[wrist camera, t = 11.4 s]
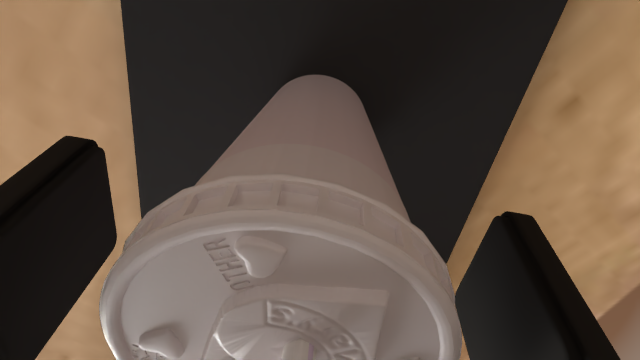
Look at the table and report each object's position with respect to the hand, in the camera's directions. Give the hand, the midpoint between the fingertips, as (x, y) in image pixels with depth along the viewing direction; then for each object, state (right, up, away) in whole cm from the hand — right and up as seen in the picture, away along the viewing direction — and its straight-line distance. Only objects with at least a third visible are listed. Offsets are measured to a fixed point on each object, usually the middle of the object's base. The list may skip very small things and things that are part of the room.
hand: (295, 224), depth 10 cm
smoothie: (0, +3, +5) cm, 6 cm away
